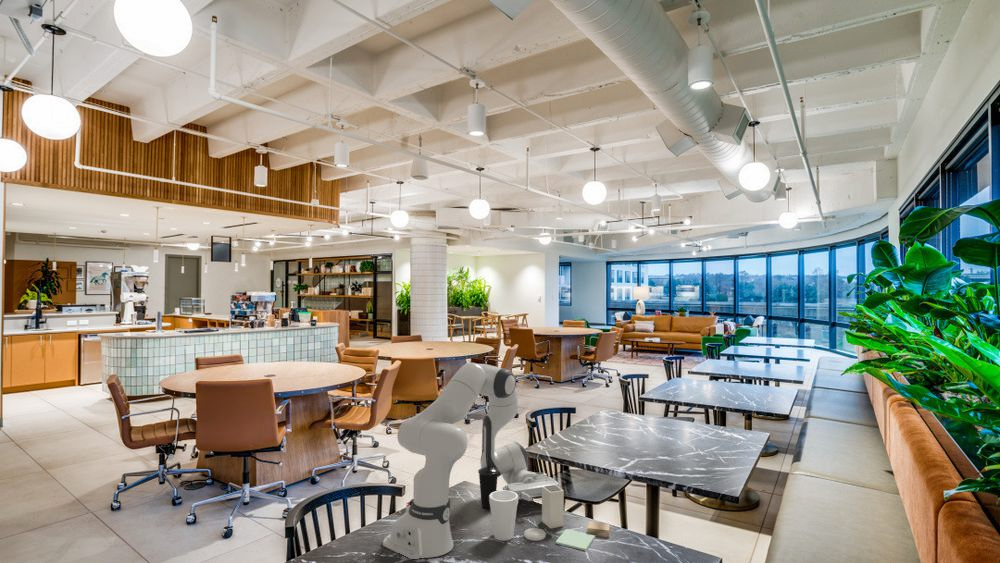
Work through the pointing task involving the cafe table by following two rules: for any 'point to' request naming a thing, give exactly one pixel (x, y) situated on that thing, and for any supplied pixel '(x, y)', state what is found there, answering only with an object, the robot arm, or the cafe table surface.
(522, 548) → the cafe table surface
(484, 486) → the drinking cup
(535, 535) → the white pebble stone
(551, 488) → the canister
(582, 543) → the mat
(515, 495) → the foam cup
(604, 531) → the oak block
